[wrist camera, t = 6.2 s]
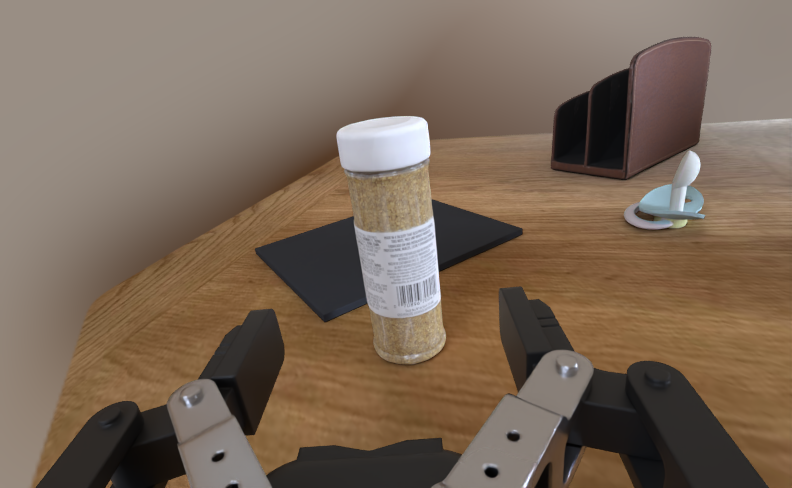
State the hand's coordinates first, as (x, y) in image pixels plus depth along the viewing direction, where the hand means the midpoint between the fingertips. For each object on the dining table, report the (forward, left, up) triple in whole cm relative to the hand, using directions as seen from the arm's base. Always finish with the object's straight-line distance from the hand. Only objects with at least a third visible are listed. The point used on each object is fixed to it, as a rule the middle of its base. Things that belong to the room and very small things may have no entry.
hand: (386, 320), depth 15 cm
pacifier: (-32, -6, -8) cm, 34 cm away
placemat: (-12, -21, -8) cm, 26 cm away
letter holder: (-50, -20, -8) cm, 55 cm away
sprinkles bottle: (-5, -7, -8) cm, 12 cm away
